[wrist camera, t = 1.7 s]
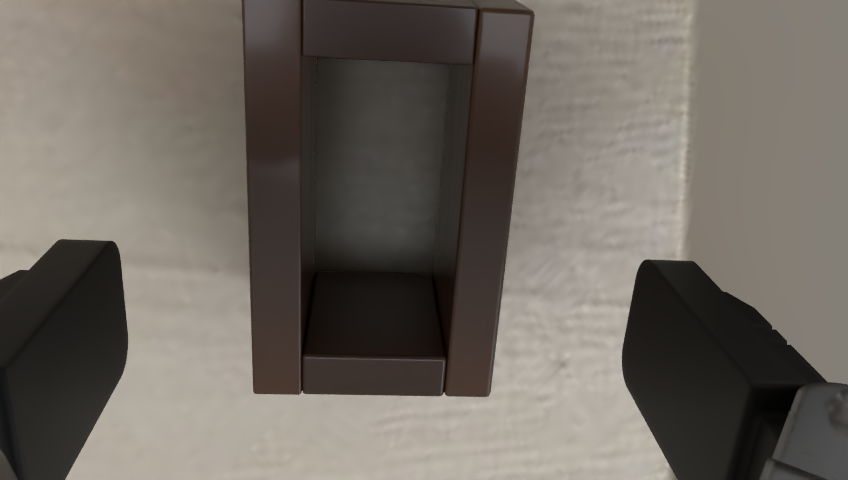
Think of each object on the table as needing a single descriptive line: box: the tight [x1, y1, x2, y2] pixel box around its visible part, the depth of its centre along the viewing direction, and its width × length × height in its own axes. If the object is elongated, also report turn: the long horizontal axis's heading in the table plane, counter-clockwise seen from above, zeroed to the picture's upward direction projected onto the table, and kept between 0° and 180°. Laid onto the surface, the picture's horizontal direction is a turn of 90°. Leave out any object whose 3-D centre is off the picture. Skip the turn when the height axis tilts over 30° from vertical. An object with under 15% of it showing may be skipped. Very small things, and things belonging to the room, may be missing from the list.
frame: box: [242, 0, 534, 397], centre depth 16 cm, size 8×5×4 cm, turn 176°
